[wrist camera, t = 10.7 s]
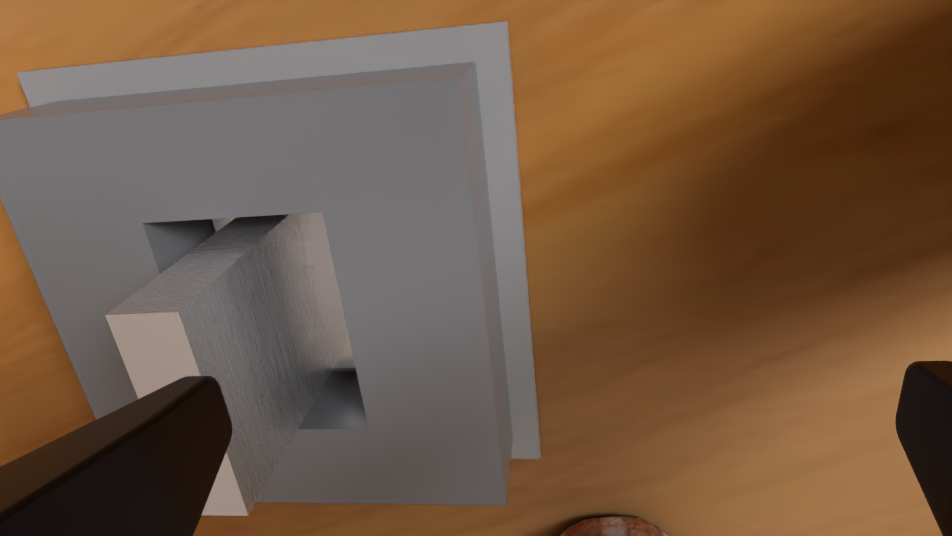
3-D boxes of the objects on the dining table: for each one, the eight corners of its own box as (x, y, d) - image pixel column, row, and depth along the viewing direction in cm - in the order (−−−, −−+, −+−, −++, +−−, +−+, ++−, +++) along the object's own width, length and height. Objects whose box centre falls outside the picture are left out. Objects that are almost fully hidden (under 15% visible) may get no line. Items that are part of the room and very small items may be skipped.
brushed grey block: (339, 194, 21) (224, 310, 14) (371, 349, 23) (288, 515, 16) (228, 203, 21) (61, 316, 14) (270, 352, 24) (146, 514, 17)
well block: (508, 20, 19) (495, 31, 15) (540, 448, 25) (538, 528, 21) (30, 70, 21) (-80, 89, 17) (173, 449, 27) (115, 520, 24)
